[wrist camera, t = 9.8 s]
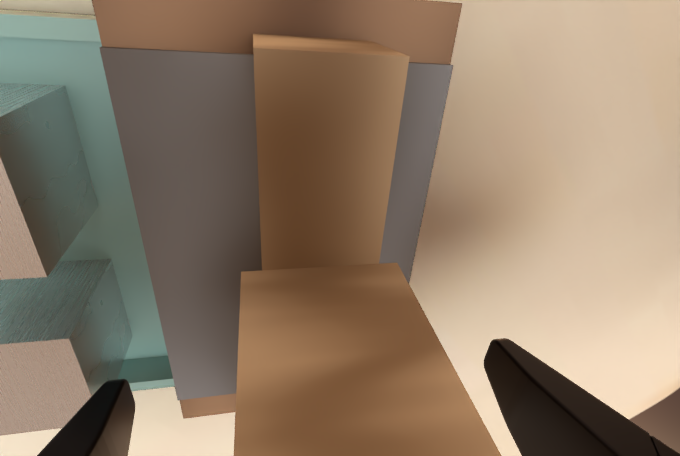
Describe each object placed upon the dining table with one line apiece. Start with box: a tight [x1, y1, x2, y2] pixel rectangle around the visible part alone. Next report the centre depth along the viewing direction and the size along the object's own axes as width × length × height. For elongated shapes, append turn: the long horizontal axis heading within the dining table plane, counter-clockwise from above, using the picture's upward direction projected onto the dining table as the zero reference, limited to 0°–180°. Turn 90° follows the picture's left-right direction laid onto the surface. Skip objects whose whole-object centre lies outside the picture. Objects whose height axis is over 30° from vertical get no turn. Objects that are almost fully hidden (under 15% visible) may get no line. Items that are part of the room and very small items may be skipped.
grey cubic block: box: [0, 259, 133, 435], centre depth 13 cm, size 4×4×4 cm
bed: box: [92, 0, 462, 418], centre depth 14 cm, size 9×16×3 cm, turn 176°
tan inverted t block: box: [234, 34, 501, 456], centre depth 10 cm, size 4×14×9 cm, turn 176°
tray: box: [0, 9, 175, 391], centre depth 13 cm, size 8×14×2 cm, turn 176°
